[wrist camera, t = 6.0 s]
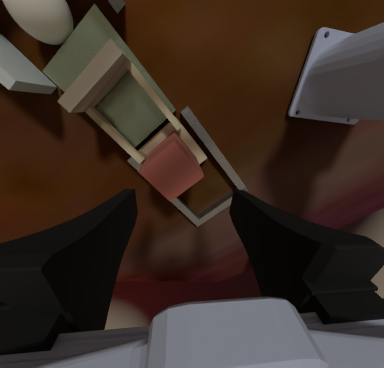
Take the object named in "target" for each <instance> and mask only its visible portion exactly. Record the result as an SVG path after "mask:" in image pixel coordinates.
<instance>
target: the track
mask: <svg viewBox="0 0 384 368" xmlns="http://www.w3.org/2000/svg"><path fill="white" fill-rule="evenodd" d="M110 38H111V39H112V40H113V41H114V42H115V43H116V44H117V45H118V46H119V47H120V48H121V50H122V51H123V52H124V53H125V54H126V55H127V56H128V58H129V59H130V60H131V62H132V63H133V64H134V65H135V67H136V68H137V69H138V71H139V72H140V73H141V74H142V76H143V77H144V78H145V79H146V81H147V82H148V83H149V85H150V86H151V87H152V88H153V90H154V91H155V92H156V94H157V95H158V96H159V97H160V99H161V100H162V101H163V102H164V104H165V105H166V106H167V108H168V109H169V110H170V111H171V113H173V112H174V111H176V109H175V108H174V106H173V105H172V104H171V102H170V101H169V100H168V99H167V97H166V96H165V95H164V93H163V92H162V91H161V89H160V88H159V87H158V85H157V84H156V83H155V82H154V80H153V79H152V78H151V76H150V75H149V74H148V72H147V71H146V70H145V68H144V67H143V66H142V64H141V63H140V62H139V61H138V59H137V58H136V57H135V55H134V54H133V53H132V51H131V50H130V49H129V47H128V46H127V45H126V44H125V42H124V41H123V40H122V38H121V37H120V36H119V34H118V33H117V32H116V30H115V29H114V28H113V26H112V25H111V24H110V23H109V21H108V20H107V19H106V17H105V16H104V15H103V14H102V12H101V11H100V10H99V8H98V7H97V6H96V5H95V4H94V5H93V6H92V8H91V9H90V10H89V11H88V13H87V14H86V15H85V17H84V18H83V19H82V20H81V22H80V23H79V24H78V26H77V27H76V28H75V30H74V31H73V32H72V33H71V35H70V36H69V37H68V39H67V40H66V41H65V43H64V44H63V45H62V46H61V48H60V49H59V50H58V52H57V53H56V54H55V56H54V57H53V58H52V59H51V61H50V62H49V63H48V65H47V66H46V67H45V69H44V70H43V72H44V73H45V74H46V75H47V76H48V77H49V78H50V79H51V80H52V81H53V82H54V83H55V84H57V85H58V86H59V87H60V88H61V89H62V90H63V91H64V92H66V90H67V89H68V88H69V87H70V86H71V84H72V83H73V82H74V81H75V80H76V79H77V77H78V76H79V75H80V74H81V73H82V71H83V70H84V69H85V68H86V67H87V66H88V64H89V63H90V62H91V61H92V60H93V58H94V57H95V56H96V55H97V54H98V52H99V51H100V50H101V49H102V48H103V47H104V45H105V44H106V43H107V42H108V41H109V39H110ZM94 108H95V109H96V110H97V111H98V112H99V113H100V114H101V115H102V116H103V117H104V118H105V119H106V120H107V121H108V122H109V123H110V124H111V125H112V126H113V127H114V128H115V129H116V130H117V131H118V132H119V133H120V134H121V135H122V136H123V137H124V138H125V139H126V140H127V141H128V142H129V143H130V144H131V145H132V146H133V147H134V148H135V147H136V146H137V145H138V144H139V143H141V142H142V141H143V140H144V139H145V138H146V137H147V136H148V135H149V134H150V133H151V132H153V131H154V130H155V129H156V128H157V127H158V126H159V125H160V124H161V123H162V122H164V121H165V120H166V119H167V117H166V116H165V115H164V113H163V112H162V111H161V110H160V108H159V107H158V106H157V105H156V104H155V102H154V101H153V100H152V99H151V97H150V96H149V95H148V94H147V92H146V91H145V90H144V89H143V87H142V86H141V85H140V84H139V83H138V81H137V80H136V79H135V78H134V76H133V75H132V74H131V73H130V71H129V70H128V71H127V72H126V74H125V75H124V76H123V77H122V78H121V79H120V80H119V81H118V82H117V83H116V84H115V85H114V86H113V88H112V89H111V90H110V91H109V92H108V93H107V94H106V95H105V96H104V97H103V98H102V99H101V101H100V102H99V103H98V104H97V105H96V106H95V107H94ZM180 113H181V114H182V115H183V117H184V118H185V119H186V121H187V122H188V123H189V125H190V126H191V127H192V128H193V130H194V131H195V132H196V134H197V135H198V136H199V138H200V139H201V140H202V142H203V143H204V144H205V146H206V147H207V148H208V150H209V151H210V152H211V154H212V155H213V156H214V158H215V159H216V160H217V162H218V163H219V164H220V166H221V167H222V168H223V169H224V171H225V172H226V173H227V175H228V176H229V177H230V179H231V180H232V181H233V183H234V184H235V185H236V187H237V189H236V190H244V191H246V192H248V193H249V191H248V189H247V188H246V186H245V185H244V184H243V182H242V181H241V179H240V178H239V177H238V175H237V174H236V173H235V171H234V170H233V168H232V167H231V166H230V164H229V163H228V161H227V160H226V159H225V157H224V156H223V155H222V153H221V152H220V150H219V149H218V148H217V146H216V145H215V143H214V142H213V141H212V139H211V138H210V137H209V135H208V134H207V132H206V131H205V130H204V128H203V127H202V125H201V124H200V123H199V121H198V120H197V118H196V117H195V116H194V114H193V113H192V112H191V110H190V109H189V107H188V106H187V107H186V108H185V109H183V110H182V111H181V112H180ZM105 132H106V131H105ZM106 133H107V132H106ZM127 161H128V162H129V163H130V164H131V165H132V166H133V167H134V168H135V169H136V170H137V171H139V169H140V168H141V166H142V164H143V161H142V162H141V163H140V164H139V163H138V162H137V161H136V160H135V159H134V158H133V157H132V156H131V157H130V158H129V159H128V160H127ZM232 196H233V192H231V193H230V194H228V195H227V196H225V197H224V198H223V199H221V200H220V201H218V202H217V203H215V204H214V205H212V206H211V207H210V208H208V209H207V210H205V211H204V212H202V213H201V214H199V215H197V214H196V213H195V212H194V211H193V210H192V209H191V208H190V207H189V206H188V205H187V204H186V203H185V202H184V201H183V200H182V199H181V198H180V197H179V196H178V197H176V198H175V199H174V200H172V201H171V202H172V203H173V204H174V205H175V206H176V207H177V208H178V209H179V210H180V211H181V212H182V213H184V214H185V215H186V216H187V217H188V218H189V219H190V220H191V221H192V222H193V223H194V224H195V225H196V226H197V227H198V226H200V225H201V224H203V223H204V222H206V221H207V220H208V219H210V218H211V217H213V216H214V215H216V214H217V213H219V212H220V211H222V210H223V209H225V208H226V207H228V206H229V205H231V201H232Z"/></svg>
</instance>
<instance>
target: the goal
mask: <svg viewBox="0 0 384 368" xmlns="http://www.w3.org/2000/svg"><path fill="white" fill-rule="evenodd" d="M108 2H109V3H110V4H111V6H112V7H113V9H114V10H115V11H116V13H117V14H118V13H119V11H120V10H121V9H122V8H123V6H124V5H125V3H124V1H123V0H108ZM0 83H1V84H2V85H3V86H5V87H6V88H7V89H8V90H12V91H23V92H33V93H43V94H52V93H53V92H54V90H55V89H56V88H57V87H56V86H55V85H54V84H53V83H52V82H51V81H50V80H49V79H48V78H47V77H46V76H45V75H44V74H43V73H42V72H41V71H39V70H38V69H37V68H36V67H35V66H34V65H33V64H32V63H31V62H30V61H29V60H28V59H27V58H26V57H25V56H24V55H23V54H22V53H21V52H20V51H19V50H17V49H16V48H15V47H14V46H13V45H12V44H11V43H10V42H9V41H8V40H7V39H6V38H5V37H4V36H3V35H2V34H1V33H0Z"/></svg>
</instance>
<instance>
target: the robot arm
mask: <svg viewBox="0 0 384 368" xmlns="http://www.w3.org/2000/svg"><path fill="white" fill-rule="evenodd" d="M325 33H326V37H325V38H324V34H325ZM296 111H298V113H297V114H296ZM288 115H289V116H291V117H298V118H306V119H314V120H322V121H329V122H337V123H345V124H356V123H357V122H358V121H359V119H367V120H382V121H384V22H383V23H381V24H378V25H376V26H373V27H371V28H368V29H366V30H363V31H361V32H359V33H356V34H353V33H348V32H344V31H339V30H335V29H330V28H325V27H322V28H320V29H319V30H317V32H316V33H315V36H314V39H313V42H312V44H311V47H310V50H309V53H308V56H307V59H306V62H305V65H304V67H303V70H302V73H301V76H300V79H299V82H298V85H297V88H296V90H295V93H294V96H293V99H292V102H291V105H290V108H289V111H288ZM347 118H348V119H347ZM346 120H347V121H346ZM229 212H230V216H231V219H232V222H233V225H234V227H235V229H236V231H237V233H238V235H239V237H240V239H241V241H242V243H243V245H244V247H245V249H246V251H247V254H248V256H249V259H250V262H251V264H252V267H253V270H254V273H255V276H256V279H257V282H258V285H259V288H260V291H261V294H262V297H255V298H241V299H227V300H212V301H198V302H187V303H182V304H178V305H173V306H169V307H168V308H166V309H164V310H163V311H161V312H160V313H158V314H157V315H156V316H155V317H154V318H153V320H152V323H151V325H150V326H146V327H133V328H122V329H110V330H104V329H105V324H106V320H107V315H108V310H109V306H110V302H111V298H112V293H113V289H114V286H115V282H116V278H117V274H118V270H119V267H120V263H121V260H122V257H123V254H124V251H125V249H126V246H127V244H128V241H129V239H130V236H131V234H132V231H133V229H134V226H135V222H136V218H137V214H138V212H137V204H136V196H135V189H125V190H123V191H121V192H120V193H118V194H117V195H115V196H114V197H112V198H110V199H109V200H107V201H106V202H104V203H102V204H101V205H99V206H97V207H96V208H94V209H92V210H90V211H88V212H86V213H84V214H82V215H80V216H78V217H76V218H74V219H72V220H69V221H67V222H64V223H62V224H59V225H57V226H54V227H52V228H49V229H46V230H43V231H40V232H38V233H34V234H31V235H28V236H25V237H22V238H19V239H15V240H11V241H8V242H4V243H0V368H384V298H383V299H382V298H381V297H380V296H379V295H378V294H377V293H376V292H375V291H377V290H378V288H377V286H376V285H375V284H373V283H372V282H371V281H370V280H371V279H372V278H373V277H374V275H375V274H376V273H377V272H378V271H379V270H380V269H381V268H382V267H383V265H384V248H383V247H382V246H380V245H379V244H377V243H376V242H375V241H373V240H371V239H370V238H368V237H365V236H361V235H356V234H352V233H348V232H343V231H339V230H336V229H332V228H328V227H325V226H321V225H318V224H315V223H312V222H309V221H306V220H303V219H300V218H298V217H295V216H293V215H290V214H288V213H286V212H283V211H281V210H279V209H277V208H275V207H273V206H271V205H269V204H267V203H265V202H264V201H262V200H260V199H258V198H257V197H255V196H253V195H251V194H249V193H248V192H246V191H244V190H234V191H233V196H232V201H231V206H230V211H229Z"/></svg>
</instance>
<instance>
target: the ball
mask: <svg viewBox="0 0 384 368" xmlns="http://www.w3.org/2000/svg"><path fill="white" fill-rule="evenodd" d="M3 3H4V5H5V7H6V9H7V10H8V12H9V13H10V15H11V16H12V18H13V19H14V20H15V21H16V22H17V24H18V25H19V26H20V27H21V28H22V29H23V30H25V31H26V32H27V33H28V34H30V35H31V36H33V37H34V38H36V39H38V40H39V41H42V42H44V43H47V44H52V45H59V44H63V43H65V41H66V40H67V39H68V37H69V36H70V35H71V33H72V32H73V18H72V14H71V11H70V9H69V6H68V4H67V2H66V0H3Z"/></svg>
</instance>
